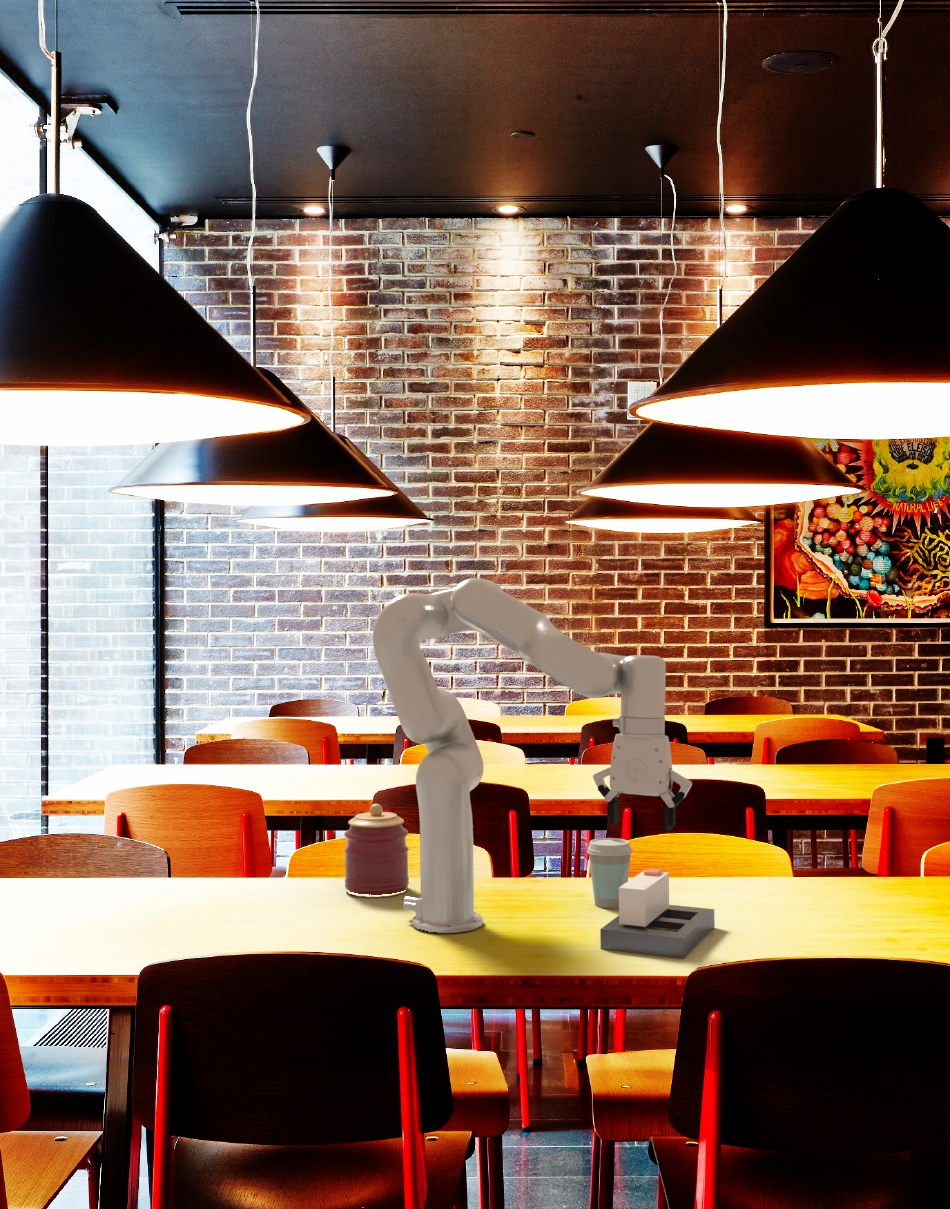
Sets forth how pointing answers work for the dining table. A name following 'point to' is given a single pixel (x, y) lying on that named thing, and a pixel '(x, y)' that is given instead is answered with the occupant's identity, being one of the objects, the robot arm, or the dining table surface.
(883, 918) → the dining table surface
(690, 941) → the grey frame with openings
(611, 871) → the coffee cup
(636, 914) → the white block orange button
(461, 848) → the robot arm
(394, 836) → the canister
